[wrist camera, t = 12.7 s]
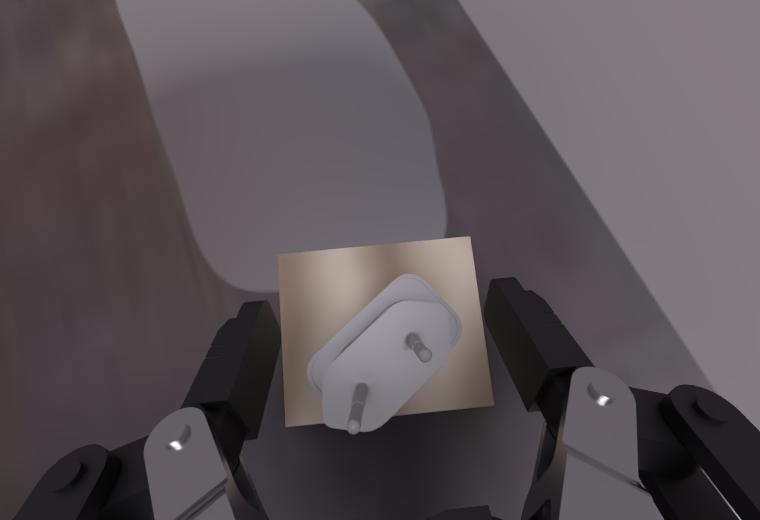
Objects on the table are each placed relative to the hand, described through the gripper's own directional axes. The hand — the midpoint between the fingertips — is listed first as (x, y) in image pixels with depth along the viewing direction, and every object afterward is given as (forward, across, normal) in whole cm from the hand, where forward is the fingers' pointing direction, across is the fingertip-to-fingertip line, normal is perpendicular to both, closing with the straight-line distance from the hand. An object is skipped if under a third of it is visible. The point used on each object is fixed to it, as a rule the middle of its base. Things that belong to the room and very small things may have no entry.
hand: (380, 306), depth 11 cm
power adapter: (+4, 0, +6) cm, 7 cm away
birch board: (+5, 0, +6) cm, 8 cm away
